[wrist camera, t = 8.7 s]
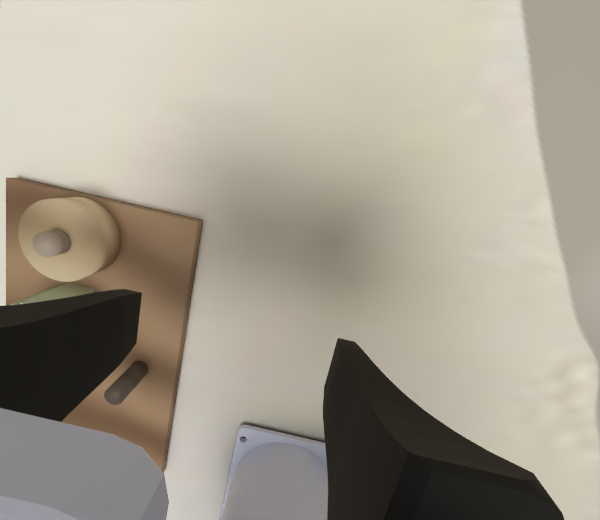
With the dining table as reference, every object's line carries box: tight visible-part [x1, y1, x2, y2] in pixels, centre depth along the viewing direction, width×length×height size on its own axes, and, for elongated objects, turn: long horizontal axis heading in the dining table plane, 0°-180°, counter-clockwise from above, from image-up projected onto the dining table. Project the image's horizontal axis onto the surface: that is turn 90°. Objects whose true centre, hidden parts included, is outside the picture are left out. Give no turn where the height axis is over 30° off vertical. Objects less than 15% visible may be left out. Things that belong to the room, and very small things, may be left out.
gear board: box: [6, 178, 202, 473], centre depth 21 cm, size 20×12×5 cm, turn 167°
